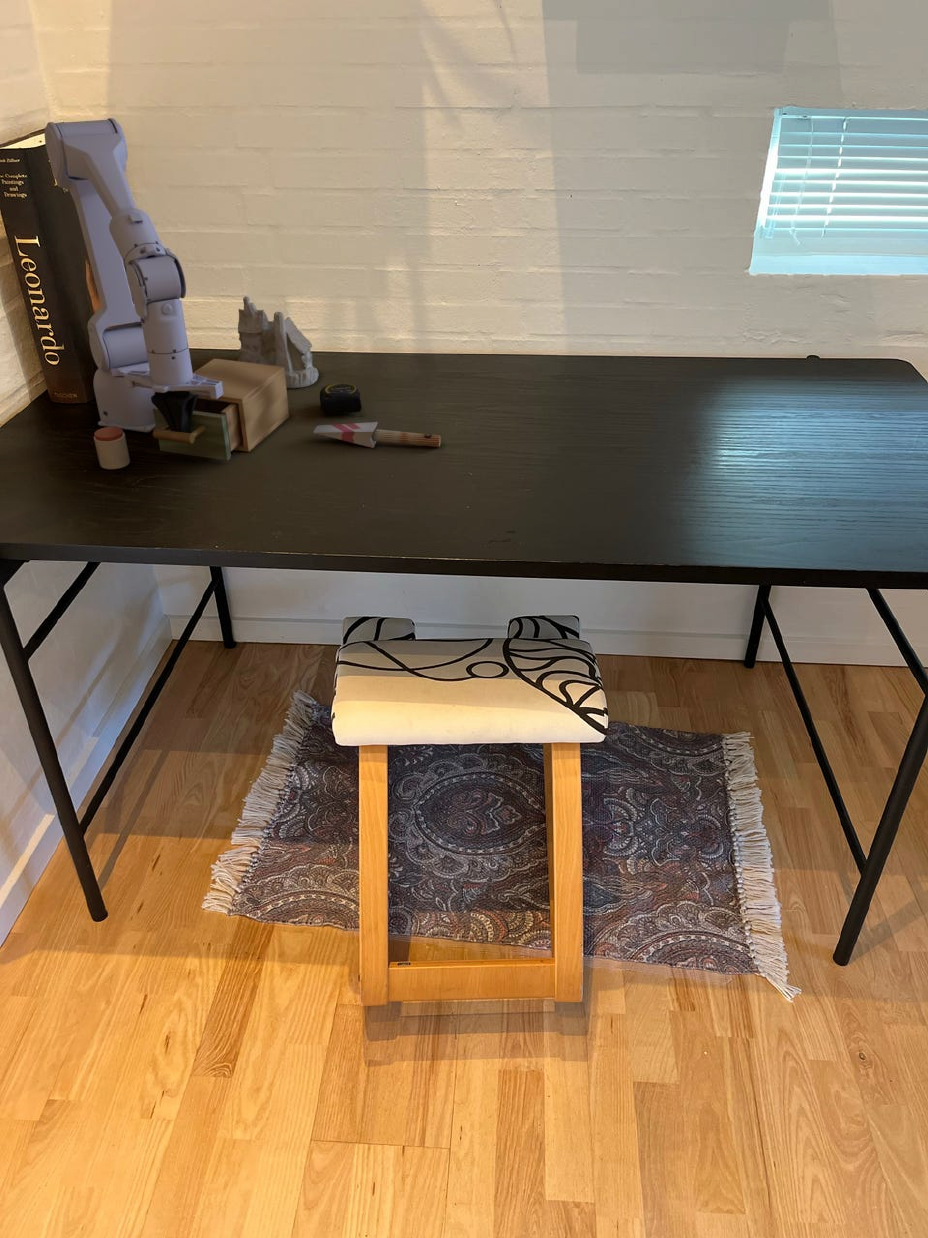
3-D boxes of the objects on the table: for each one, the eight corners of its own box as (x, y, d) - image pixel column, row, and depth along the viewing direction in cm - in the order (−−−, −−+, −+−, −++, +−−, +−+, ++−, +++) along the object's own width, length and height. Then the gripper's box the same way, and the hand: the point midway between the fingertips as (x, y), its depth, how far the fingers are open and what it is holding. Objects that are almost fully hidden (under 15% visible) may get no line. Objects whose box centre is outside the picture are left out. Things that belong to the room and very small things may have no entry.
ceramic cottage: (300, 391, 167) (292, 303, 159) (220, 382, 172) (209, 296, 165) (341, 368, 180) (335, 285, 172) (265, 360, 185) (257, 279, 177)
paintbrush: (317, 415, 151) (442, 428, 150) (318, 431, 153) (441, 444, 151) (311, 424, 148) (438, 438, 146) (312, 441, 149) (437, 454, 148)
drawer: (211, 474, 138) (204, 430, 134) (142, 464, 141) (134, 420, 137) (268, 426, 153) (263, 385, 149) (204, 417, 156) (198, 377, 152)
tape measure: (320, 419, 158) (319, 397, 156) (320, 403, 163) (319, 382, 161) (362, 417, 159) (361, 396, 156) (360, 402, 164) (359, 381, 162)
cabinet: (248, 452, 147) (242, 399, 142) (176, 441, 150) (167, 389, 145) (289, 416, 158) (284, 366, 154) (221, 407, 161) (214, 358, 156)
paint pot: (93, 467, 142) (86, 435, 139) (110, 455, 145) (104, 424, 143) (119, 471, 141) (112, 439, 138) (136, 458, 144) (129, 428, 142)
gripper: (104, 350, 130) (123, 442, 138) (199, 362, 127) (213, 455, 135) (133, 335, 136) (150, 424, 144) (224, 345, 133) (237, 436, 140)
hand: (182, 438), depth 140 cm, fingers closed, pressing on drawer
